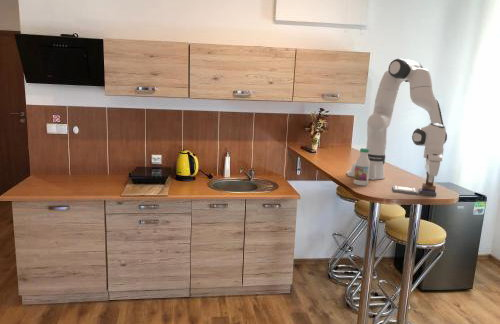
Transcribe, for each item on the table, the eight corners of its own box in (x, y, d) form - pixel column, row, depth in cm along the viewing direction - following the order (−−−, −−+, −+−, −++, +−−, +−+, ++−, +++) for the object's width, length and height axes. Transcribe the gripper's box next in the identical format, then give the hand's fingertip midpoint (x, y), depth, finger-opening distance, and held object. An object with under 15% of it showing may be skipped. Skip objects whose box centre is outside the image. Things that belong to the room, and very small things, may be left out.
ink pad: (419, 194, 206) (419, 190, 205) (418, 191, 211) (418, 187, 211) (436, 196, 203) (436, 192, 203) (434, 193, 209) (435, 189, 209)
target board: (393, 191, 208) (393, 189, 207) (392, 187, 217) (392, 184, 217) (417, 194, 204) (418, 192, 204) (415, 190, 214) (416, 187, 213)
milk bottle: (357, 181, 225) (361, 147, 221) (370, 184, 220) (374, 149, 217) (351, 183, 220) (354, 148, 216) (364, 186, 215) (368, 150, 211)
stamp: (422, 190, 206) (425, 169, 203) (421, 188, 210) (424, 167, 208) (435, 192, 204) (438, 170, 202) (434, 190, 208) (437, 168, 206)
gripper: (424, 151, 214) (420, 176, 217) (428, 157, 195) (425, 184, 197) (436, 152, 212) (433, 177, 215) (442, 158, 193) (438, 186, 196)
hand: (429, 181), depth 206 cm, fingers closed on stamp, 4 cm apart
